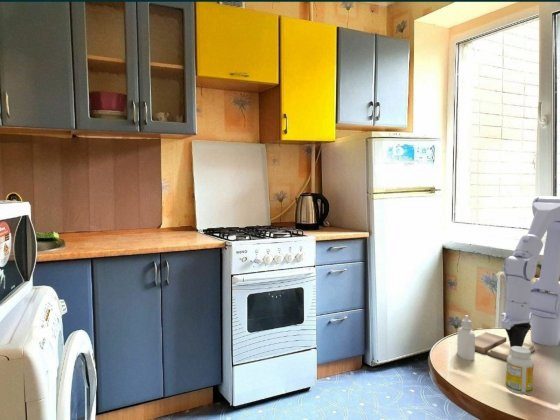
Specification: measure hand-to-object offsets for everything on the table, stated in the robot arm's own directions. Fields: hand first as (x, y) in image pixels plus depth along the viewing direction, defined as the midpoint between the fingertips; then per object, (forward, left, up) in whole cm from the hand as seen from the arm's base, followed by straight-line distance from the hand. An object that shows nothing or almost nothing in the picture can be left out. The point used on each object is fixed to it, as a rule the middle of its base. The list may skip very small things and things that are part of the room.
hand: (516, 349), depth 115 cm
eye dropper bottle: (+12, -8, -2) cm, 15 cm away
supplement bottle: (+19, +8, -2) cm, 21 cm away
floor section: (0, -5, -2) cm, 5 cm away
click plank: (0, -1, -1) cm, 2 cm away
